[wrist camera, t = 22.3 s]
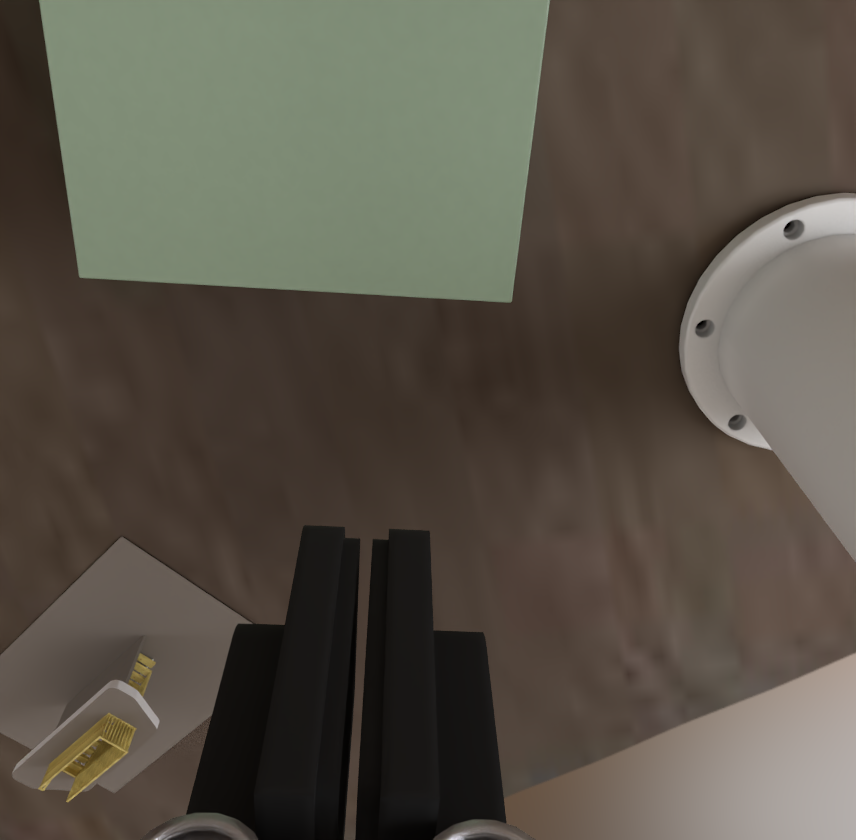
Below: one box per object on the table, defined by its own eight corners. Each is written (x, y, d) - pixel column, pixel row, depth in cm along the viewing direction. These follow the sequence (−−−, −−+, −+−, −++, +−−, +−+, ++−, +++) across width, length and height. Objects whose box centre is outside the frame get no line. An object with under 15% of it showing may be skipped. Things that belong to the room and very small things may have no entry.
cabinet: (105, -293, 27) (-20, -395, 19) (540, -252, 28) (592, -334, 20) (152, 206, 35) (78, 278, 27) (489, 227, 36) (511, 303, 28)
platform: (292, 650, 48) (276, 743, 43) (114, 793, 54) (79, 891, 49) (121, 536, 44) (78, 623, 38) (-52, 705, 50) (-111, 802, 44)
